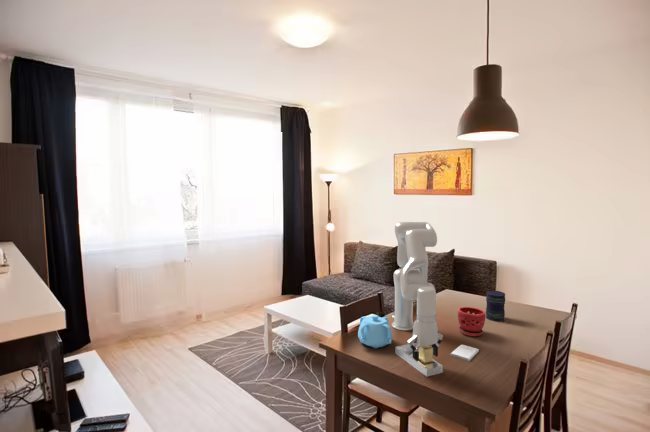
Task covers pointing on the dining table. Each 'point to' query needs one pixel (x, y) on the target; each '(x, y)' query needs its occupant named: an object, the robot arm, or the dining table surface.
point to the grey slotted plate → (424, 369)
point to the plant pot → (471, 321)
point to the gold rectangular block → (426, 355)
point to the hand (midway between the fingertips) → (425, 357)
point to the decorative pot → (374, 331)
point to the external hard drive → (465, 352)
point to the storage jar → (495, 306)
